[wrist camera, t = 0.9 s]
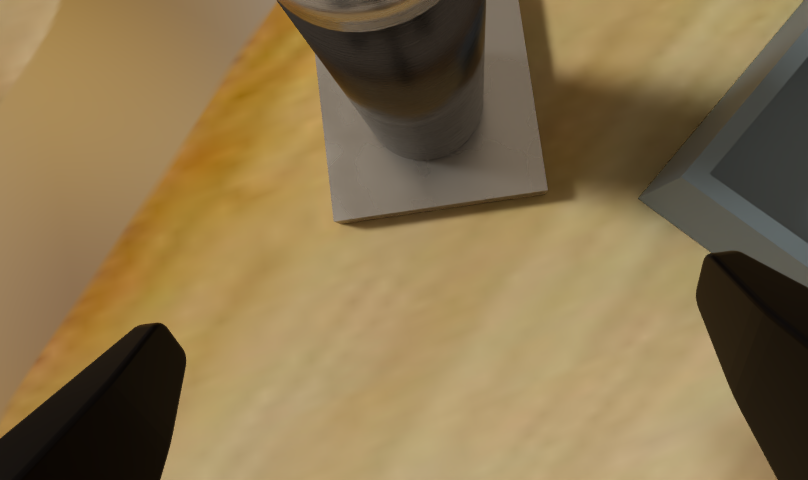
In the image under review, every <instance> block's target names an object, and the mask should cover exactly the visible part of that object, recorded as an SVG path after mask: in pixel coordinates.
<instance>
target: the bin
mask: <svg viewBox="0 0 808 480" xmlns="http://www.w3.org/2000/svg"><path fill="white" fill-rule="evenodd" d="M638 199H639V200H641V201H642V202H643V203H645V204H646V205H647V206H649V207H650V208H651V209H653V210H654V211H656V212H657V213H658V214H660V215H661V216H662V217H664V218H665V219H666V220H668V221H669V222H671V223H672V224H673V225H675V226H676V227H677V228H679V229H680V230H681V231H683V232H684V233H685V234H687V235H688V236H690V237H691V238H692V239H694V240H695V241H696V242H698V243H699V244H700V245H702V246H703V247H704V248H706V249H707V250H709V251H710V252H711V253H715V252H723V251H731V250H734V251H740V252H742V253H744V254H746V255H748V256H750V257H752V258H754V259H755V260H757V261H759V262H761V263H763V264H765V265H767V266H769V267H770V268H772V269H774V270H776V271H778V272H780V273H782V274H784V275H786V276H787V277H789V278H791V279H793V280H795V281H797V282H799V283H801V284H803V285H804V286H806V287H808V0H804V1H803V2H802V3H801V4H800V6H799V7H798V8H797V9H796V10H795V12H794V13H793V14H792V15H791V16H790V18H789V19H788V20H787V21H786V22H785V24H784V25H783V26H782V27H781V28H780V30H779V31H778V32H777V33H776V34H775V36H774V37H773V38H772V39H771V40H770V41H769V43H768V44H767V45H766V46H765V47H764V49H763V50H762V51H761V52H760V53H759V55H758V56H757V57H756V58H755V59H754V61H753V62H752V63H751V64H750V65H749V67H748V68H747V69H746V70H745V71H744V73H743V74H742V75H741V76H740V77H739V78H738V80H737V81H736V82H735V83H734V84H733V86H732V87H731V88H730V89H729V90H728V92H727V93H726V94H725V95H724V96H723V98H722V99H721V100H720V101H719V102H718V104H717V105H716V106H715V107H714V108H713V110H712V111H711V112H710V113H709V114H708V115H707V117H706V118H705V119H704V120H703V121H702V123H701V124H700V125H699V126H698V127H697V129H696V130H695V131H694V132H693V133H692V135H691V136H690V137H689V138H688V139H687V141H686V142H685V143H684V144H683V145H682V147H681V148H680V149H679V150H678V151H677V152H676V154H675V155H674V156H673V157H672V158H671V160H670V161H669V162H668V163H667V164H666V166H665V167H664V168H663V169H662V170H661V172H660V173H659V174H658V175H657V176H656V178H655V179H654V180H653V181H652V182H651V184H650V185H649V186H648V187H647V188H646V189H645V191H644V192H643V193H642V194H641V195H640V197H639V198H638Z"/></svg>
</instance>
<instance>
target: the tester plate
mask: <svg viewBox="0 0 808 480" xmlns="http://www.w3.org/2000/svg"><path fill="white" fill-rule="evenodd" d="M315 57H316V66H317V75H318V84H319V93H320V102H321V111H322V120H323V129H324V138H325V147H326V156H327V165H328V173H329V182H330V191H331V200H332V209H333V218H334V222H336V223H339V224H344V223H351V222H358V221H365V220H372V219H378V218H385V217H392V216H399V215H406V214H413V213H420V212H426V211H433V210H440V209H447V208H454V207H461V206H468V205H474V204H481V203H488V202H495V201H502V200H509V199H516V198H522V197H529V196H536V195H543V194H545V193H546V192H547V191H548V188H547V181H546V175H545V168H544V162H543V156H542V149H541V143H540V136H539V130H538V123H537V117H536V110H535V104H534V97H533V91H532V84H531V78H530V72H529V65H528V59H527V52H526V46H525V39H524V33H523V26H522V20H521V13H520V7H519V0H486V23H485V59H484V96H483V110H482V114H481V118H480V120H479V123H478V125H477V127H476V129H475V131H474V132H473V134H472V135H471V137H470V138H469V139H468V140H467V141H466V142H465V143H464V144H463V145H462V146H461V147H459V148H458V149H457V150H455V151H453V152H452V153H450V154H448V155H446V156H443V157H440V158H437V159H432V160H412V159H407V158H404V157H401V156H399V155H397V154H395V153H393V152H391V151H390V150H388V149H387V148H386V147H385V146H384V145H383V144H381V142H380V141H379V140H378V139H377V138H376V136H375V135H374V133H373V132H372V131H371V129H370V128H369V127H368V125H367V124H366V122H365V121H364V120H363V118H362V117H361V116H360V114H359V113H358V111H357V110H356V109H355V107H354V106H353V105H352V103H351V102H350V100H349V99H348V98H347V96H346V95H345V94H344V92H343V91H342V89H341V88H340V87H339V85H338V84H337V83H336V81H335V80H334V78H333V77H332V76H331V74H330V73H329V72H328V70H327V69H326V67H325V66H324V65H323V63H322V62H321V61H320V59H319V58H318V56H317V55H316V54H315Z"/></svg>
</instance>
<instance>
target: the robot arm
mask: <svg viewBox="0 0 808 480" xmlns="http://www.w3.org/2000/svg"><path fill="white" fill-rule="evenodd" d="M696 301H697V305H698V308H699V311H700V313H701V316H702V318H703V321H704V323H705V326H706V328H707V331H708V334H709V336H710V339H711V341H712V344H713V346H714V349H715V351H716V354H717V357H718V359H719V362H720V364H721V367H722V369H723V372H724V374H725V377H726V380H727V382H728V384H729V387H730V389H731V391H732V394H733V396H734V398H735V400H736V402H737V404H738V406H739V408H740V410H741V412H742V414H743V416H744V417H745V419H746V421H747V423H748V425H749V427H750V429H751V431H752V432H753V434H754V436H755V438H756V440H757V442H758V444H759V446H760V447H761V449H762V451H763V453H764V455H765V457H766V459H767V461H768V462H769V464H770V466H771V468H772V470H773V472H774V474H775V476H776V477H777V479H778V480H808V287H806V286H804V285H803V284H801V283H799V282H797V281H795V280H793V279H791V278H789V277H787V276H786V275H784V274H782V273H780V272H778V271H776V270H774V269H772V268H770V267H769V266H767V265H765V264H763V263H761V262H759V261H757V260H755V259H754V258H752V257H750V256H748V255H746V254H744V253H742V252H740V251H734V250H731V251H723V252H715V253H710V254H708V255H707V256H706V257H705V258H704V261H703V264H702V269H701V273H700V277H699V281H698V285H697V290H696ZM185 368H186V355H185V352H184V350H183V348H182V347H181V346H180V344H179V343H178V342H177V340H176V339H175V338H174V336H173V335H172V334H171V332H170V331H169V329H168V328H167V327H166V326H165V325H164V324H162V323H151V324H143V325H139V326H137V327H135V328H134V329H132V330H131V331H130V332H129V333H128V334H126V335H125V336H124V337H123V338H121V339H120V340H119V341H118V342H117V343H115V344H114V345H113V346H112V347H111V348H109V349H108V350H107V351H106V352H105V353H103V354H102V355H101V356H100V357H98V358H97V359H96V360H95V361H94V362H92V363H91V364H90V365H89V366H88V367H86V368H85V369H84V370H83V371H81V372H80V373H79V374H78V375H77V376H75V377H74V378H73V379H72V380H71V381H69V382H68V383H67V384H66V385H65V386H63V387H62V388H61V389H60V390H58V391H57V392H56V393H55V394H54V395H52V396H51V397H50V398H49V399H48V400H46V401H45V402H44V403H43V404H42V405H40V406H39V407H38V408H37V409H35V410H34V411H33V412H32V413H31V414H29V415H28V416H27V417H26V418H25V419H23V420H22V421H21V422H20V423H19V424H17V425H16V426H15V427H14V428H12V429H11V430H10V431H9V432H8V433H6V434H5V435H4V436H3V437H2V438H0V480H160V479H161V475H162V472H163V469H164V465H165V462H166V459H167V455H168V451H169V448H170V444H171V439H172V435H173V430H174V425H175V420H176V414H177V409H178V404H179V399H180V394H181V388H182V383H183V378H184V373H185Z"/></svg>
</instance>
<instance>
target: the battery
mask: <svg viewBox="0 0 808 480" xmlns="http://www.w3.org/2000/svg"><path fill="white" fill-rule="evenodd" d="M277 1H278V3H279V4H280V6H281V7H282V8H283V10H284V11H285V12H286V14H287V15H288V17H289V18H290V19H291V21H292V22H293V23H294V25H295V26H296V28H297V29H298V30H299V32H300V33H301V34H302V36H303V37H304V39H305V40H306V41H307V43H308V44H309V45H310V47H311V48H312V50H313V51H314V52H315V54H316V55H317V56H318V58H319V59H320V61H321V62H322V63H323V65H324V66H325V67H326V69H327V70H328V72H329V73H330V74H331V76H332V77H333V78H334V80H335V81H336V83H337V84H338V85H339V87H340V88H341V89H342V91H343V92H344V94H345V95H346V96H347V98H348V99H349V100H350V102H351V103H352V105H353V106H354V107H355V109H356V110H357V111H358V113H359V114H360V116H361V117H362V118H363V120H364V121H365V122H366V124H367V125H368V127H369V128H370V129H371V131H372V132H373V133H374V135H375V136H376V138H377V139H378V140H379V141H380V142H381V144H383V145H384V146H385V147H386V148H387V149H388V150H390V151H391V152H393V153H395V154H397V155H399V156H401V157H404V158H407V159H412V160H432V159H437V158H440V157H443V156H446V155H448V154H450V153H452V152H453V151H455V150H457V149H458V148H459V147H461V146H462V145H463V144H464V143H465V142H466V141H467V140H468V139H469V138H470V137H471V135H472V134H473V132H474V131H475V129H476V127H477V125H478V123H479V120H480V118H481V114H482V110H483V96H484V59H485V23H486V0H277Z"/></svg>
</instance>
